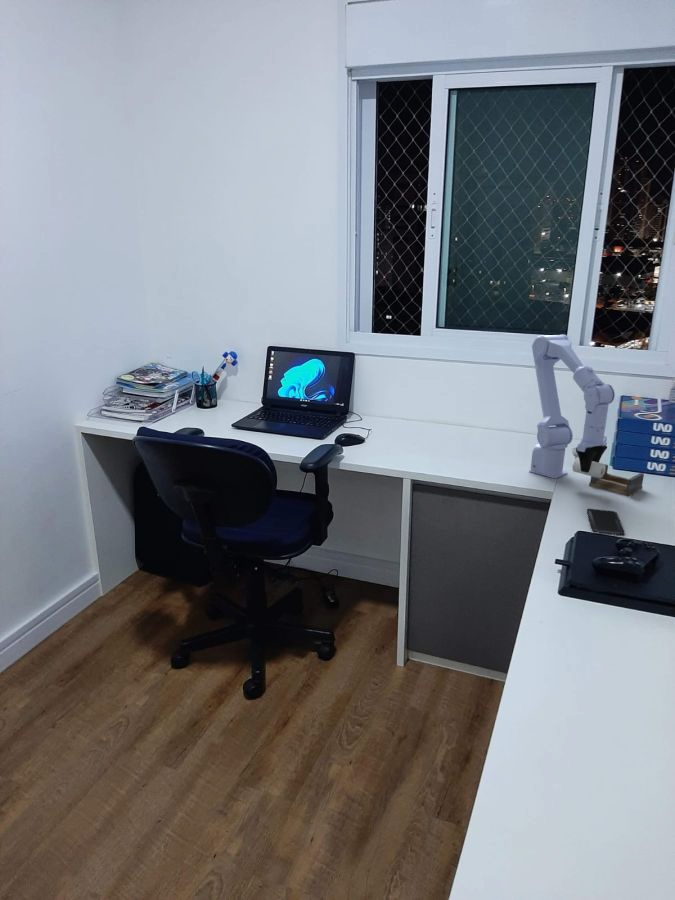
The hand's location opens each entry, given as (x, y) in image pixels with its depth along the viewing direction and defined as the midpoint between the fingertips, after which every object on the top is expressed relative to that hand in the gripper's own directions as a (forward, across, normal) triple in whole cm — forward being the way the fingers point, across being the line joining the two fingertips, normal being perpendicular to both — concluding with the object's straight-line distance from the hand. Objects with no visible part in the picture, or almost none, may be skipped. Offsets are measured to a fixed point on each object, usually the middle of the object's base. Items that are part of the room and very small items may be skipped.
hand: (588, 469), depth 198 cm
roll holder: (+6, +9, -5) cm, 12 cm away
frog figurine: (+7, +21, +12) cm, 25 cm away
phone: (+7, -20, -15) cm, 26 cm away
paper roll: (-1, 0, 0) cm, 1 cm away
